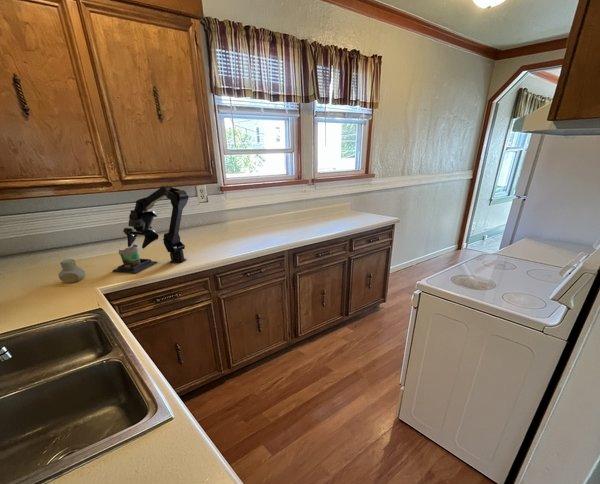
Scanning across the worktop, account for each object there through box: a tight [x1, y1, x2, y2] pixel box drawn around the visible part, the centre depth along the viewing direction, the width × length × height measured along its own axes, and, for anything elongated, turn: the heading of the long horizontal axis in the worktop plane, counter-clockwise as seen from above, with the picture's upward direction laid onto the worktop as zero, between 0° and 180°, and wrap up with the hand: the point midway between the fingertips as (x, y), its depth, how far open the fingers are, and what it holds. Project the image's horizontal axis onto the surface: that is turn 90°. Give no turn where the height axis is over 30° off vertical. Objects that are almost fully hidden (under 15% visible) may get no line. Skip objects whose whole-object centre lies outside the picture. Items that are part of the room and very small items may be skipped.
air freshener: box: [58, 258, 87, 284], centre depth 155 cm, size 11×8×10 cm
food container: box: [118, 243, 141, 268], centre depth 172 cm, size 12×6×10 cm, turn 168°
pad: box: [112, 258, 158, 275], centre depth 174 cm, size 14×18×2 cm
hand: (135, 247), depth 173 cm, fingers open, 9 cm apart
